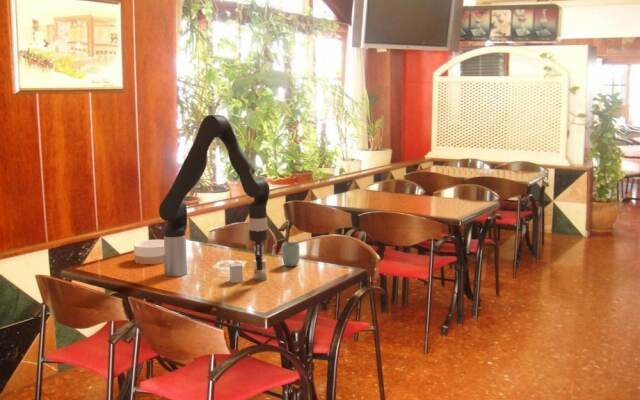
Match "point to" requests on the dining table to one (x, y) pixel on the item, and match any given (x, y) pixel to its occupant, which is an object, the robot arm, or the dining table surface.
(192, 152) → the robot arm
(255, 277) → the blue canister
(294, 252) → the cup
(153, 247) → the bowl
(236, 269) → the grey block
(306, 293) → the dining table surface
